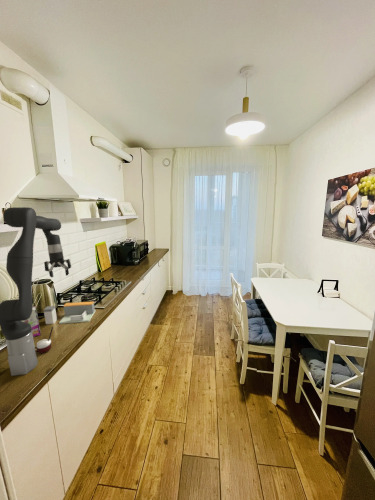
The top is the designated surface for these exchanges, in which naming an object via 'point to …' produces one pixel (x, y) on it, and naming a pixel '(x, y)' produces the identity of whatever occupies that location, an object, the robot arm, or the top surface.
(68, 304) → the orange-topped grey blocks
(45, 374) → the top surface
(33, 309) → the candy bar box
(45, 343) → the cocoa
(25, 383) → the top surface
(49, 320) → the white grey-topped block
